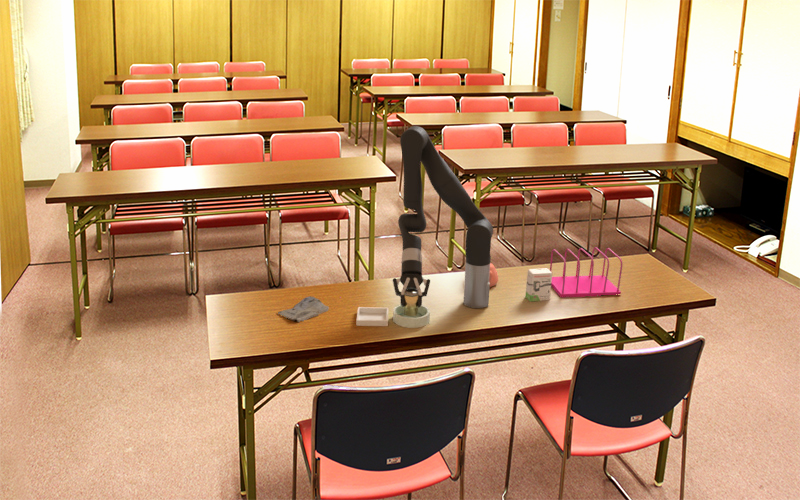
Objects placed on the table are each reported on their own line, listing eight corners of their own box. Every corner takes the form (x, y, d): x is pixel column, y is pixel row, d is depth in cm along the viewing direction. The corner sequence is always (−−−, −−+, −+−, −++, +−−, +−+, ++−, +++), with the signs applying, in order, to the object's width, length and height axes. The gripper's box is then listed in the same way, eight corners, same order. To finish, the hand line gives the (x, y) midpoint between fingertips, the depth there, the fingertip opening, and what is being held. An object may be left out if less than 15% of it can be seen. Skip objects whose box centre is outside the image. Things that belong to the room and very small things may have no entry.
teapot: (476, 291, 285) (477, 269, 282) (461, 275, 301) (462, 254, 298) (504, 289, 288) (506, 267, 285) (487, 272, 305) (489, 251, 301)
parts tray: (388, 313, 264) (388, 307, 263) (387, 327, 254) (387, 320, 253) (358, 313, 264) (358, 307, 263) (356, 326, 254) (356, 320, 253)
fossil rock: (296, 325, 255) (295, 319, 254) (271, 312, 265) (271, 306, 264) (334, 311, 267) (334, 305, 266) (309, 299, 277) (309, 293, 276)
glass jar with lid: (417, 310, 261) (418, 289, 258) (417, 316, 256) (418, 294, 253) (403, 310, 260) (404, 288, 258) (403, 316, 256) (404, 294, 253)
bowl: (428, 313, 265) (429, 303, 264) (430, 329, 253) (430, 319, 252) (393, 312, 265) (393, 302, 264) (392, 328, 253) (393, 318, 251)
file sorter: (546, 281, 297) (549, 245, 292) (603, 279, 301) (608, 244, 295) (560, 298, 281) (564, 261, 276) (620, 295, 285) (625, 259, 279)
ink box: (529, 301, 277) (532, 273, 273) (524, 296, 281) (527, 269, 277) (550, 300, 279) (553, 272, 275) (545, 295, 283) (547, 267, 279)
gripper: (392, 258, 259) (391, 302, 252) (431, 259, 259) (431, 303, 252) (392, 266, 265) (391, 309, 258) (430, 267, 266) (430, 310, 259)
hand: (411, 306), depth 255 cm, fingers closed on glass jar with lid, 5 cm apart
